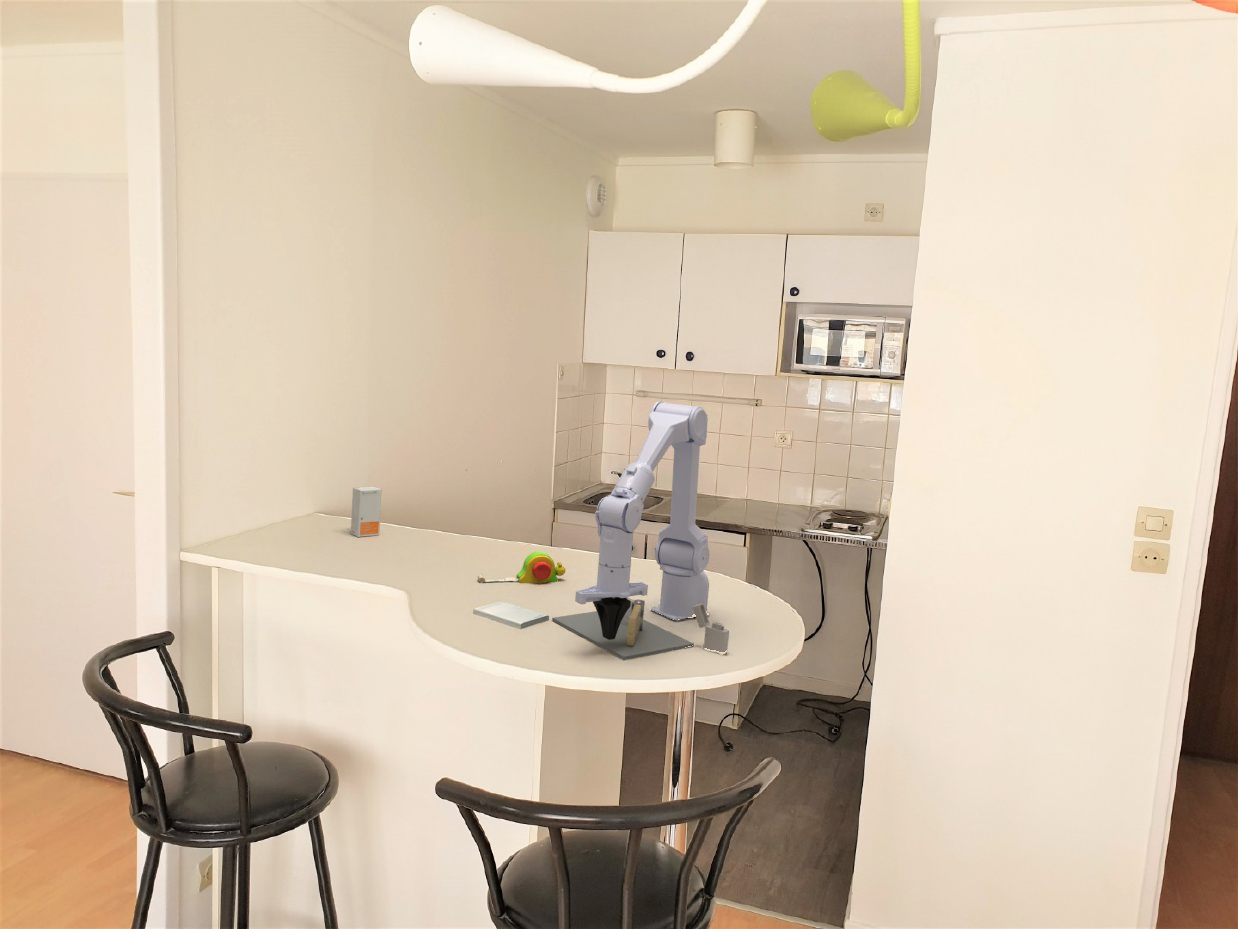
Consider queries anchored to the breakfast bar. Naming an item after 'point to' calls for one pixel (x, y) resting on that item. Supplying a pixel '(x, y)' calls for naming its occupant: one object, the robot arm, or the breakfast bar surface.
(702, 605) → the lighter
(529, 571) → the toy measuring tape
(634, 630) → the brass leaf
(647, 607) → the breakfast bar surface
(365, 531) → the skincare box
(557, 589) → the breakfast bar surface
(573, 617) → the hinge base
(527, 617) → the hard drive
